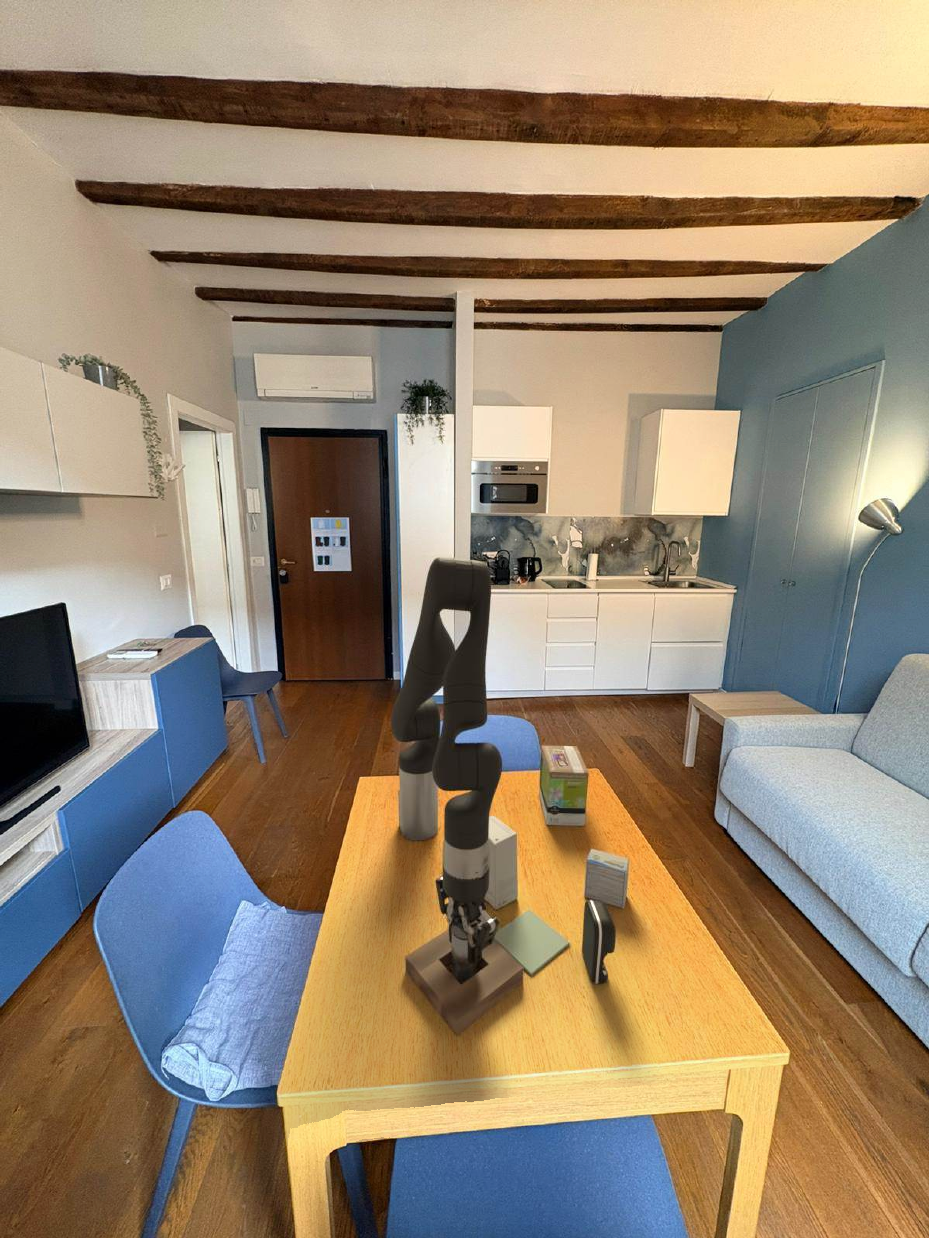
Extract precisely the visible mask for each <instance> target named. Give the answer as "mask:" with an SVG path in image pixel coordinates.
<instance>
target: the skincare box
mask: <svg viewBox="0 0 929 1238" xmlns="http://www.w3.org/2000/svg"><path fill="white" fill-rule="evenodd" d="M517 836H518V833H517V832H516V831H515V830H513V829H511V828H510V826H508V825H507V824H506V823H504V822H503V821H502V820H500V819H499V818H498V817H496V816H495V815H491V816H490V815H489V845H490V867H489V888H488V891H487V893H486V895H485V901H486V902H487V903H489V904H490V905H491V906H492V907H493V909H494V910H499V909H500V908H502V907H504V906H506V905H508V904H511V903H512V902H514V901H517V900H518V897H519V885H518V882H519V881H518V837H517Z"/></svg>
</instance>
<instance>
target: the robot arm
mask: <svg viewBox="0 0 929 1238" xmlns="http://www.w3.org/2000/svg"><path fill="white" fill-rule="evenodd" d="M426 576H427V577H426V581H425V587H424V592H423V597H422V604H421V609H420V615H419V620H418V624H417V629H416V632H415V635H414V638H413V642H412V645H411V648H410V652H409V657H408V659H407V665H406V669H405V673H404V674H405V675H404V677H403V681H402V684H401V687H400V690H399V693H398V695H397V698H396V699H395V703H394V705H393V707H392V711H391V716H390V717H391V718H390V728H391V733H392V736H393V737H394V739H396V741H398V742H400V743H412V742H413V743H412V744H410V745H409V746H407V747H406V748H404V749H403V750H401V752H400V753H399V756H398V768H399V769H398V773H399V775H398V777H399V778H398V779H399V789H398V791H397V793H398V794H397V795H398V796H397V797H398V798H397V800H398V804H397V805H398V806H397V807H398V825H399V828H400V829H399V830H400V833H401V835H402V836H403V837H404V838H406V839H408V840H410V841H417V842H419V841H425V840H428V839H431V838H432V837H434V836H435V835H436V834H437V833H438V831H439V830H438V829H439V790H442V791H445V792H458V791H459V792H463V791H465V793H461V794H457V795H455V796H453V797H451V798H450V799H449V800H447V802H446V804H445V806H444V813H443V817H444V818H443V831H444V832H443V836H444V837H443V843H442V875H441V876H440V877H437V878H436V879H435V886H436V892H437V893H436V895H437V900H438V905H439V911H440V912H441V914H442V915H443V916H445V917H446V922H447V924H448V929H449V941H450V942H451V943H452V923H453V921H454V920H455V919H456V918H458V917H460V916H461V918H462V922H463V927H464V931H465V932H467V935H468V940H469V943H468V962H469V963H470V964H474V963H476V962H477V961H478V960H480V959H481V958H482V950H483V949H484V948H486V947H487V946H489V945H491V944H492V943H493V940H494V937H495V934H496V932H497V931H498V928H499V924H500V920H499V918H498V917H496V916H493V917H491V915H490V914H489V913H488V912H487V904H486V899H485V895H486V893H487V891H488V888H489V867H490V845H489V817H490V813H491V812H490V811H491V808H492V803H493V801H494V797H495V794H496V792H497V789H498V786H499V783H500V780H501V777H502V776H501V775H502V772H503V759H502V755H501V752H500V750H499V749H498V747H497V746H496V745H494V744H493V743H491V742H456V739H457V737H458V736H459V735H460V734H462V733H463V732H466V731H471V730H476V729H480V728H481V727H484V726H485V725H486V723H487V720H488V702H487V701H488V700H487V681H486V679H487V677H486V669H487V668H486V664H487V650H488V641H489V640H488V638H489V627H490V613H491V602H492V601H491V597H492V578H491V571H490V568H489V566H488V564H486V563H485V562H483V561H480V560H475V559H468V558H466V559H465V558H458V557H451V556H439V557H436V558H434V559H433V560H432V562H431V564H430V566H429V568H428V572H427V575H426ZM443 610H448V611H449V610H450V611H460V612H469V614H470V615H469V624H468V628H467V631H466V633H465V635H464V636H463V639H462V640H461V641H460V643H459V645H458V647H457V648H456V646H455V644H454V641H453V639H452V637H451V635H450V633H449V632H448V630H447V629H446V628H447V627H445V624H444V623H443V620H442V618H441V611H443ZM441 689H442V702H443V703H442V705H443V706H442V708H443V710H442V711H443V713H442V723H441V713H440V708H439V705H438V704H437V702H436V700H434V699H433V698H432V697H433V696H434V695H435V694H437V693H438V692H439V691H440V690H441ZM441 724H442V725H441ZM466 791H467V792H466ZM446 899H448V902H447V903H446ZM470 923H471V924H470ZM476 930H477V933H478V934H477V935H475V936H474V932H475V931H476Z"/></svg>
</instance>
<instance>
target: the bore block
mask: <svg viewBox="0 0 929 1238" xmlns="http://www.w3.org/2000/svg"><path fill="white" fill-rule="evenodd" d="M404 957H405V958H404V959H405V960H404V961H405V962H404V963H405V973H406V974H407V975H408V976H409V978H411V980H412V981H413V983H414V984H415V985H416V986H417V988H418V989H419V991H421V993H422V994H423V996H424V997H425V998H426V999H427V1000H428V1002H429V1003H430V1004H431V1006H432V1007H433V1008H434V1009H435V1010H436V1012H437V1013H438V1015H440V1016H441V1019H442V1020H444V1022H445V1023H446V1025H448V1026H449V1028H450V1029H451V1031H453V1033H454V1035H456V1037H458V1036H459V1035H460V1034H461V1033H462V1032H464V1031H465V1030H466V1029H468V1028H469V1027H470V1026H471V1025H473V1024H474V1023H475V1022H477V1021H478V1019H480V1018H481V1017H482V1016H484V1015H485V1014H486V1013H487V1012H488V1011H489V1010H491V1009H492V1008H493V1007H494V1006H496V1005H498V1003H499V1002H501V1001H502V1000H503V999H504V998H505V997H507V996H509V995H510V994H511V993H512V992H513V991H514V990H515V989H517V988H518V987H519V986H521V985H522V984H523V983H524V968H523V967H522V966H521V965H520V964H519V963H518V962H517V961H516V960H515V959H514V958H513V957H512V956H511V955H510V954H509V953H508V952H507V951H506V950H505V949H504V948H502V947H501V946H500V945H499V944H498V943H497V942H496V941H495V940H493V943H492V944H491V945H489V946H487V947H486V948H484V949H483V950H482V958H481V959H480V960H478V973H477V974H475V975H474V976H473V977H471V978H470V979H469V980H467V981H466V982H464V983H460V982H458V981H457V980H456V979H455V978H454V976H453V975H452V972H450V971H449V968H451V967H452V943H451V942H450V941H449V928H448V929H446V930H444V931H443V932H441V933H439V934H438V935H437V936H434V938H432V939H431V940H429V941H427V942H425V943H424V944H423V945H421V946H420V947H418V948H416V949H415V950H413V951H412V952H410V953H409V954H407V955H405V956H404Z"/></svg>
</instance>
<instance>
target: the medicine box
mask: <svg viewBox="0 0 929 1238" xmlns="http://www.w3.org/2000/svg"><path fill="white" fill-rule="evenodd" d="M585 861H586V862H585V875H584V877H585V878H584V891H583V892H584V893H583V896H584V897H585V898H587V899H589V900H592V901H603V902H605V903H606V905H609V906H613V907H617V908H619V909H622V910H623V909H625V906H626V900H627V895H628V883H629V882H628V881H629V868H630V859H629V858H627V857H624V856H619V855H617V854H612V853H609V852H605V851H603V850H598V849H594V848H590V850H589V853H588V855H587V858H586V860H585Z"/></svg>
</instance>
